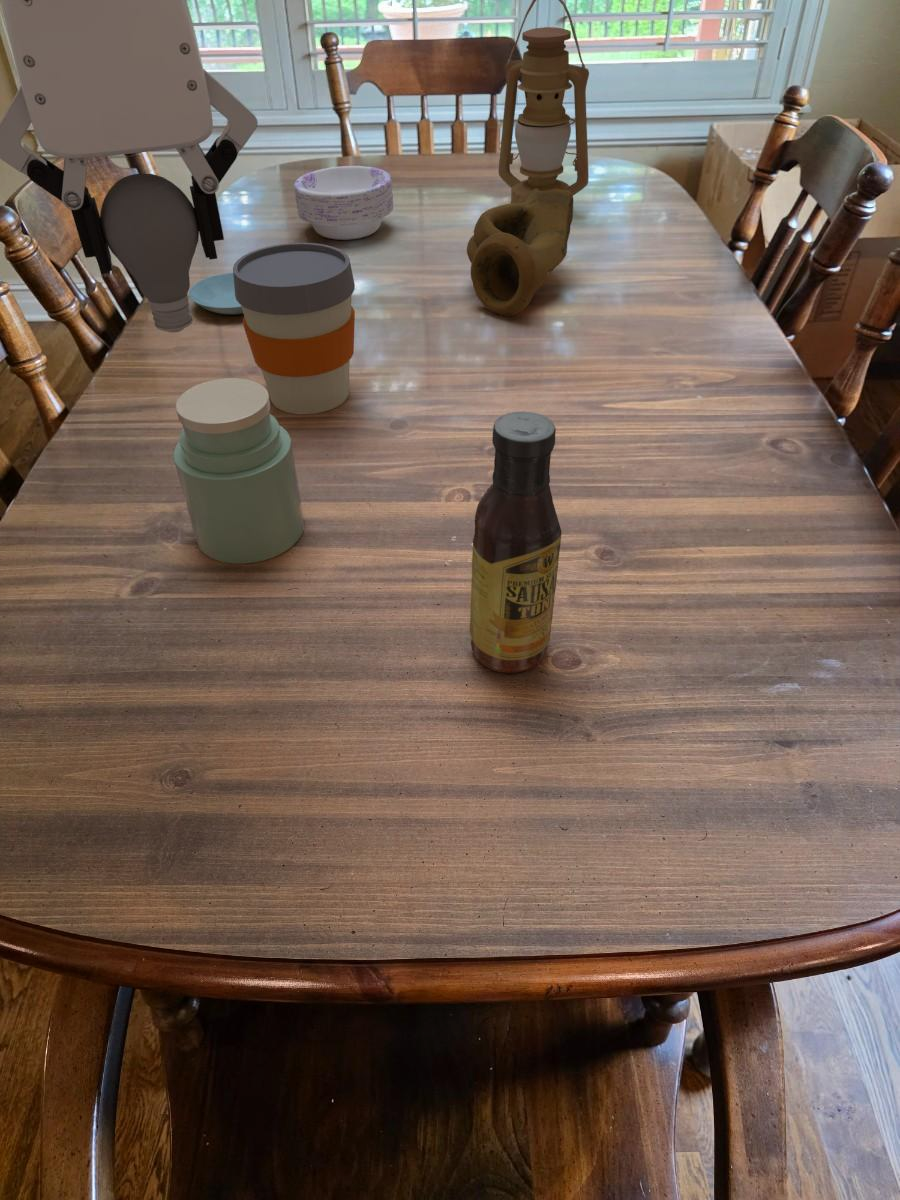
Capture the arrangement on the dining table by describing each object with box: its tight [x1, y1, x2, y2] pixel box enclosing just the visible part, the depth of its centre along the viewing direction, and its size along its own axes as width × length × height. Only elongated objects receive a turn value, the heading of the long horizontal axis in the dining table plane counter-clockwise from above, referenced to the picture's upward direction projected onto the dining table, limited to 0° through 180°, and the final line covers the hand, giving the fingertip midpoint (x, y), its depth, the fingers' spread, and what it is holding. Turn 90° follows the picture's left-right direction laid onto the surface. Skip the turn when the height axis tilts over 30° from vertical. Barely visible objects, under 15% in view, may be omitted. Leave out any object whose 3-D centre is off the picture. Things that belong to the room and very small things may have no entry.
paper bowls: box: [293, 165, 394, 241], centre depth 137 cm, size 15×15×8 cm
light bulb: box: [99, 172, 200, 333], centre depth 57 cm, size 6×6×10 cm
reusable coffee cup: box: [232, 242, 356, 415], centre depth 95 cm, size 13×13×15 cm
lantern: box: [498, 0, 590, 204], centre depth 135 cm, size 15×10×30 cm
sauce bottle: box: [469, 411, 563, 674], centre depth 62 cm, size 6×6×20 cm
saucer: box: [188, 272, 244, 316], centre depth 118 cm, size 12×12×2 cm
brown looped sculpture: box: [466, 188, 574, 317], centre depth 119 cm, size 18×13×22 cm
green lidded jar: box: [173, 377, 305, 565], centre depth 76 cm, size 10×10×14 cm
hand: (158, 256), depth 57 cm, fingers closed on light bulb, 6 cm apart
